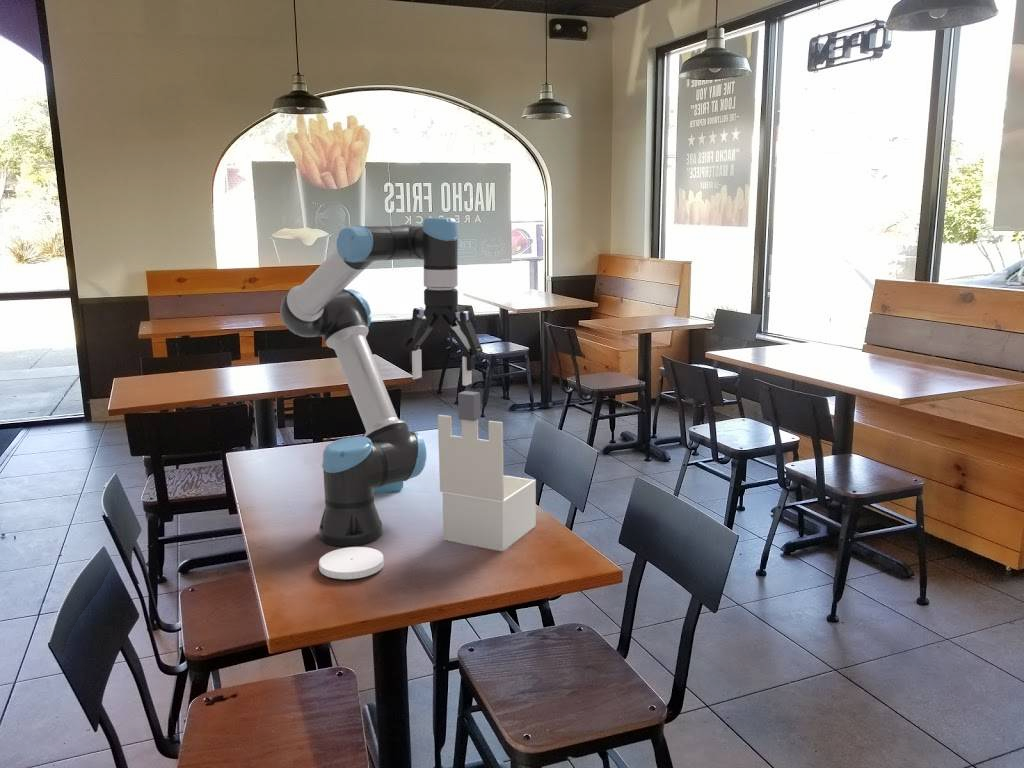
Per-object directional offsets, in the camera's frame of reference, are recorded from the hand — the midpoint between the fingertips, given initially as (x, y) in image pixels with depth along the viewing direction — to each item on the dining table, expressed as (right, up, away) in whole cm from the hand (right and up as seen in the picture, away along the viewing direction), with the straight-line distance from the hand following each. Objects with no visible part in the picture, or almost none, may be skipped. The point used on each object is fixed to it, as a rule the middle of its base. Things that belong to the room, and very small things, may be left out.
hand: (441, 381), depth 189 cm
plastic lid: (-19, -42, -6) cm, 46 cm away
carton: (+11, -37, +14) cm, 41 cm away
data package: (-21, -31, +46) cm, 59 cm away
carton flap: (+7, -14, +2) cm, 16 cm away
